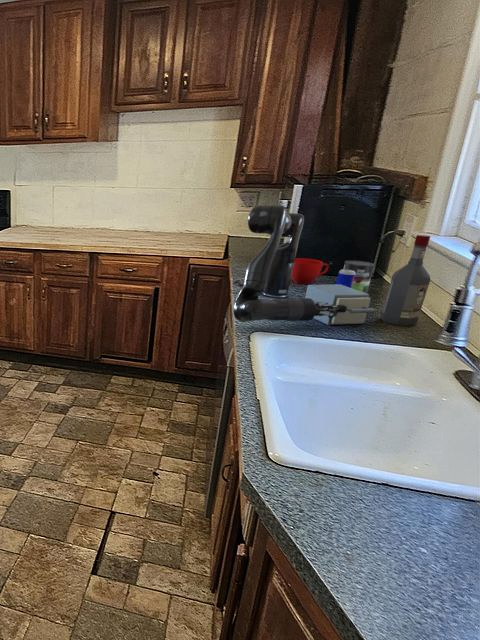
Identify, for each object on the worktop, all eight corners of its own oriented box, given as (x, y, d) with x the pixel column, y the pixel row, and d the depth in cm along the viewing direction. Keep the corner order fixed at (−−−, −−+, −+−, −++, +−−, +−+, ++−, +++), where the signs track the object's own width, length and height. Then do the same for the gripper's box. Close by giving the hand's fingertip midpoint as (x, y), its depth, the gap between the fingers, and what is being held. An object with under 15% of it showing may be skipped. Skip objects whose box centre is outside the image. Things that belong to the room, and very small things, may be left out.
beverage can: (347, 312, 197) (358, 272, 192) (332, 311, 198) (342, 271, 193) (342, 308, 202) (352, 269, 196) (327, 307, 203) (337, 268, 197)
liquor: (376, 319, 188) (400, 234, 177) (392, 316, 192) (417, 233, 181) (403, 327, 181) (430, 238, 170) (419, 324, 184) (447, 237, 173)
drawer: (374, 327, 177) (382, 302, 174) (343, 328, 176) (349, 302, 173) (337, 311, 194) (343, 288, 191) (308, 312, 193) (313, 289, 190)
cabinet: (361, 323, 184) (369, 294, 180) (327, 324, 183) (334, 294, 179) (333, 312, 197) (340, 284, 193) (301, 312, 196) (307, 284, 192)
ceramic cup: (332, 286, 235) (338, 264, 231) (294, 285, 235) (299, 263, 232) (317, 279, 247) (322, 258, 243) (280, 279, 247) (285, 258, 244)
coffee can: (368, 301, 212) (377, 266, 207) (338, 298, 216) (347, 264, 210) (362, 295, 221) (371, 261, 216) (334, 292, 225) (342, 259, 219)
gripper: (311, 304, 168) (361, 303, 170) (286, 293, 180) (334, 292, 182) (305, 326, 171) (356, 325, 172) (282, 314, 183) (329, 313, 185)
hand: (344, 308), depth 177 cm, fingers closed
